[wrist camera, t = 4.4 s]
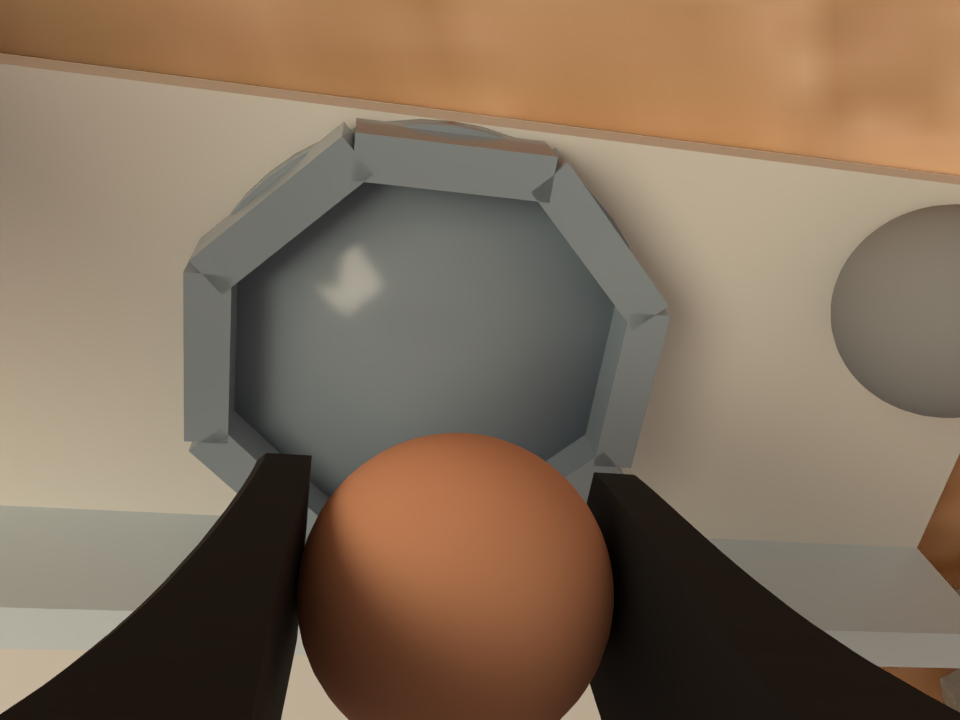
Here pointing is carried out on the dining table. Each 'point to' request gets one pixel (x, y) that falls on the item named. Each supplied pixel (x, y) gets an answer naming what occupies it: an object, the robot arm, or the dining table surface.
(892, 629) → the fence
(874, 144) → the dining table surface
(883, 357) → the grey ball
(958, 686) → the egg carton
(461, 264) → the dish
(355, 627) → the rust ball
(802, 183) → the board
